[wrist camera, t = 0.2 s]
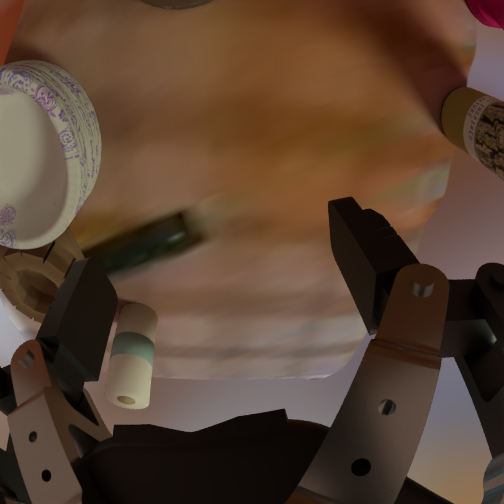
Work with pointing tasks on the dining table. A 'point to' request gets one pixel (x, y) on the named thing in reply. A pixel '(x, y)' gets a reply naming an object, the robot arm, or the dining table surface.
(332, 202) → the robot arm
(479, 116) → the bark covered cylinder
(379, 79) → the dining table surface
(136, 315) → the roll
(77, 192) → the paper bowls
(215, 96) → the dining table surface
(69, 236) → the holder
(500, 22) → the pepper mill
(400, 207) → the dining table surface
